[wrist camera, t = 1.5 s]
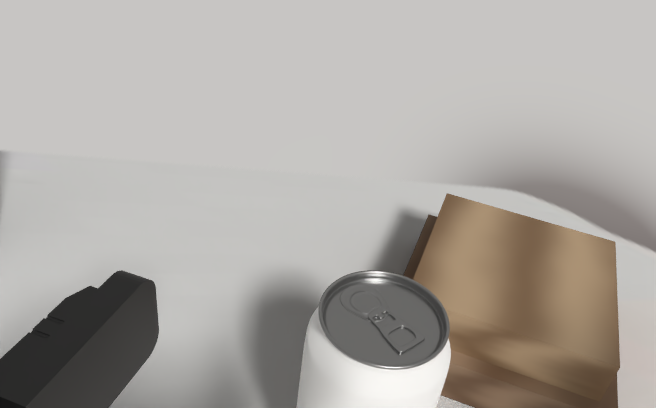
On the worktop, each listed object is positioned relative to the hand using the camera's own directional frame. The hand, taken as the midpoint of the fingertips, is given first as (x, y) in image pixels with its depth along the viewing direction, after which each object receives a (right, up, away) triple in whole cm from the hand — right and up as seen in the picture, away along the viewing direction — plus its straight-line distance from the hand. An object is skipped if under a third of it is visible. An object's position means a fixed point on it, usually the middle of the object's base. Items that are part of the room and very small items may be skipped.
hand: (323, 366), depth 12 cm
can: (+1, -11, +20) cm, 23 cm away
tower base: (+12, -6, +30) cm, 32 cm away
